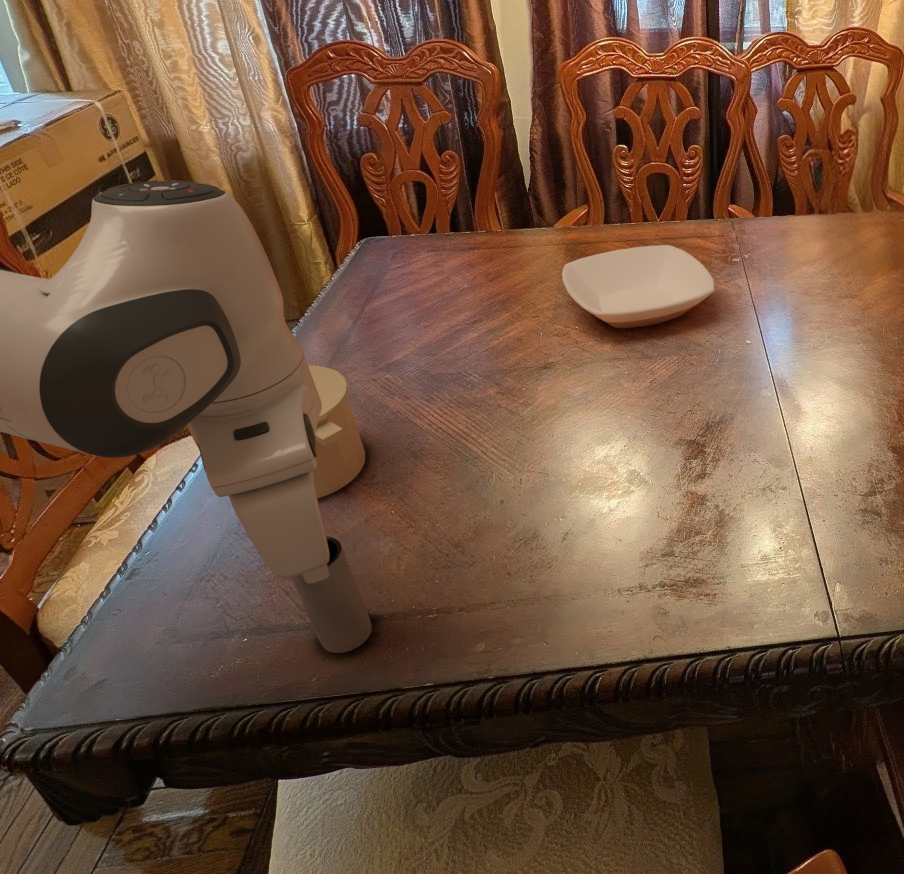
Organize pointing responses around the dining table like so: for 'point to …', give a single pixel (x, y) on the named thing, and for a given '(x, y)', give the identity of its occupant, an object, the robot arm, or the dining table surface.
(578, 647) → the dining table surface
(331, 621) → the planter
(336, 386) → the pot lid
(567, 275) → the bowl
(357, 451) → the pot
